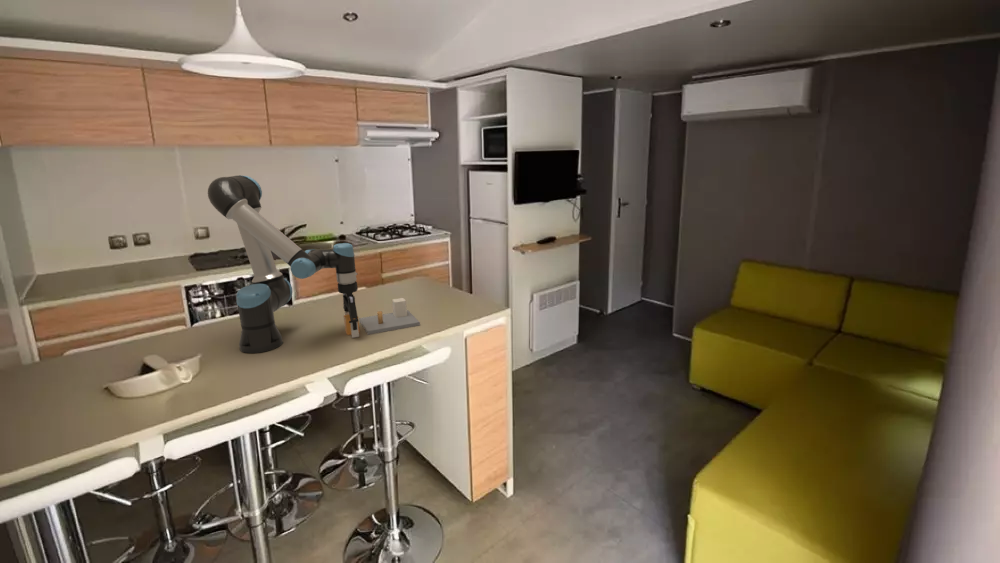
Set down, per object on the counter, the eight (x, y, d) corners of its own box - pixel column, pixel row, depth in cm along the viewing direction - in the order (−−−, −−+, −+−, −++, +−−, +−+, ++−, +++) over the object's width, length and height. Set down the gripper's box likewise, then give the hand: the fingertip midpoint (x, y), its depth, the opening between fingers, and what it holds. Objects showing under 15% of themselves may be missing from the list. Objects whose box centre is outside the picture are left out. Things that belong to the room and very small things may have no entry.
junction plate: (367, 334, 197) (365, 314, 195) (359, 321, 213) (357, 302, 210) (419, 325, 206) (418, 306, 204) (408, 313, 222) (406, 295, 220)
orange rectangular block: (347, 335, 197) (345, 319, 195) (345, 331, 201) (343, 315, 199) (359, 333, 199) (358, 316, 197) (357, 329, 203) (355, 313, 201)
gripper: (362, 288, 185) (367, 339, 191) (351, 274, 207) (356, 320, 212) (342, 290, 182) (348, 343, 188) (333, 276, 204) (338, 323, 209)
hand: (352, 331), depth 200 cm, fingers open, 13 cm apart
